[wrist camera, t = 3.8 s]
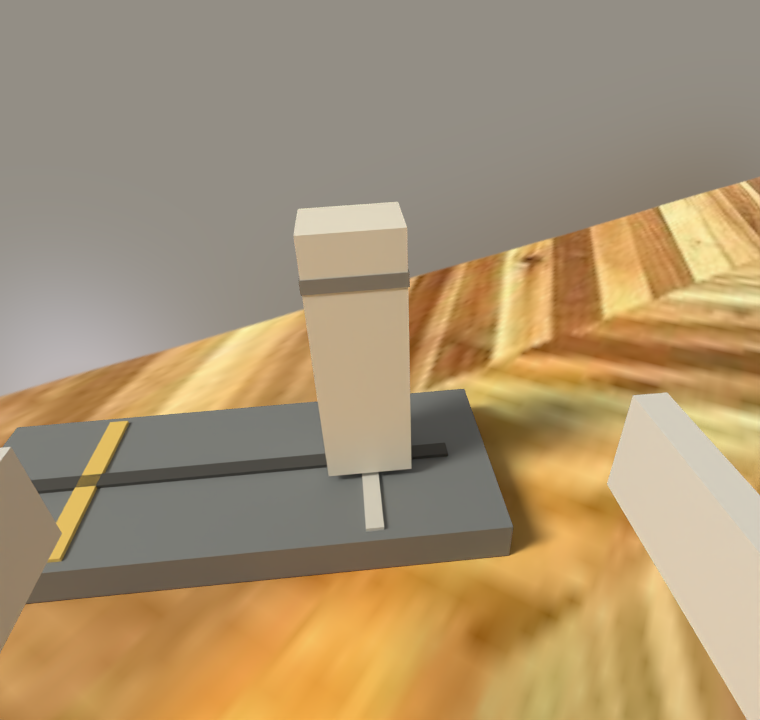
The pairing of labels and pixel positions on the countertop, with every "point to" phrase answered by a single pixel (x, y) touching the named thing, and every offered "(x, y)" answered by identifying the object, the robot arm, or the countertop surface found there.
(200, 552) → the fader console
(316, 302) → the fader knob
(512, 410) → the countertop surface
